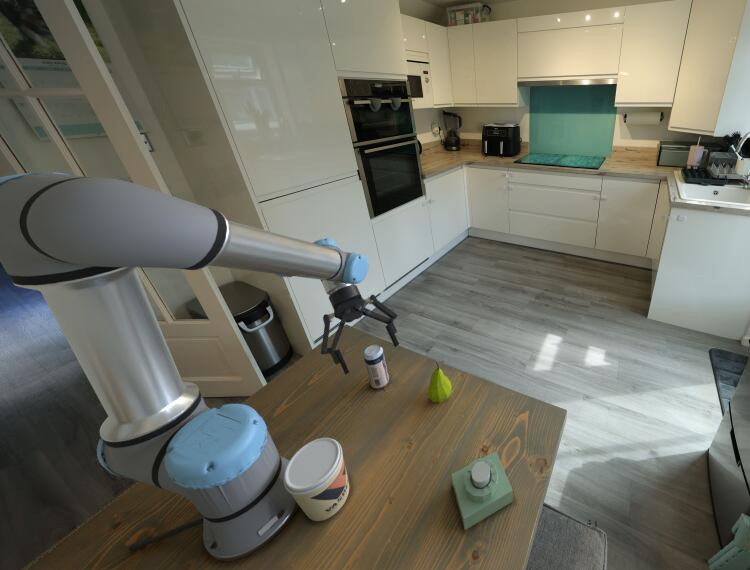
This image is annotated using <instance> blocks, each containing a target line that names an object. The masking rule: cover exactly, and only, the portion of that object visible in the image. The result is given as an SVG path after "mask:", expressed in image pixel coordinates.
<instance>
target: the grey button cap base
mask: <svg viewBox="0 0 750 570" xmlns="http://www.w3.org/2000/svg"><path fill="white" fill-rule="evenodd" d="M478 462H485V463H487V464H488V466H489V468H490V481H489V483H488V484H487V486H485V487H484V488H477V487H475V486H474V485H473V483H472V476H471V471H472V468H473V466H474V465H475V464H476V463H478ZM506 473H507V472H506V471H505V468H504V467H503V464H502V461H501V459H500V457H499V454H498V451H494V452H491V453H489V454H488V455H486V456H484V457H479V458H477V459H475V460H473V461H470V463H469V464H468V465H466V466H464V467H463V468H461V469H459V470H457V471H455V472H453V473H451V474H450V477H451V485H452V488H453V492H454V496H455V499H456V504H457V507H458V511H459V514H460V518H461V521H462V526H463V530H464V531H466V530H468V529H469V528H471V527H472V526H474V525H476V524H478V523H479V522H481V521H483V520H484V519H486V518H487V517H489V516H491V515H493V514H494V513H496V512H497V511H499V510H501V509H503V508H504V507H507V506H508V505H509V504H511V503H513V499H514V498H513V497H514V491H513V488H512V485H511V482H510V481H509V478H508V475H507V474H506Z"/></svg>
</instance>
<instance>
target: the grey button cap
mask: <svg viewBox="0 0 750 570" xmlns="http://www.w3.org/2000/svg"><path fill="white" fill-rule="evenodd" d="M471 476H472V483H473V485H474V486H475V487H477V488H484V487H485V486H487V484H488V483H489V481H490V468H489V466H488V464H487V463H485V462H478V463H476V464H475V465H474V466H473V468H472V471H471Z"/></svg>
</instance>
